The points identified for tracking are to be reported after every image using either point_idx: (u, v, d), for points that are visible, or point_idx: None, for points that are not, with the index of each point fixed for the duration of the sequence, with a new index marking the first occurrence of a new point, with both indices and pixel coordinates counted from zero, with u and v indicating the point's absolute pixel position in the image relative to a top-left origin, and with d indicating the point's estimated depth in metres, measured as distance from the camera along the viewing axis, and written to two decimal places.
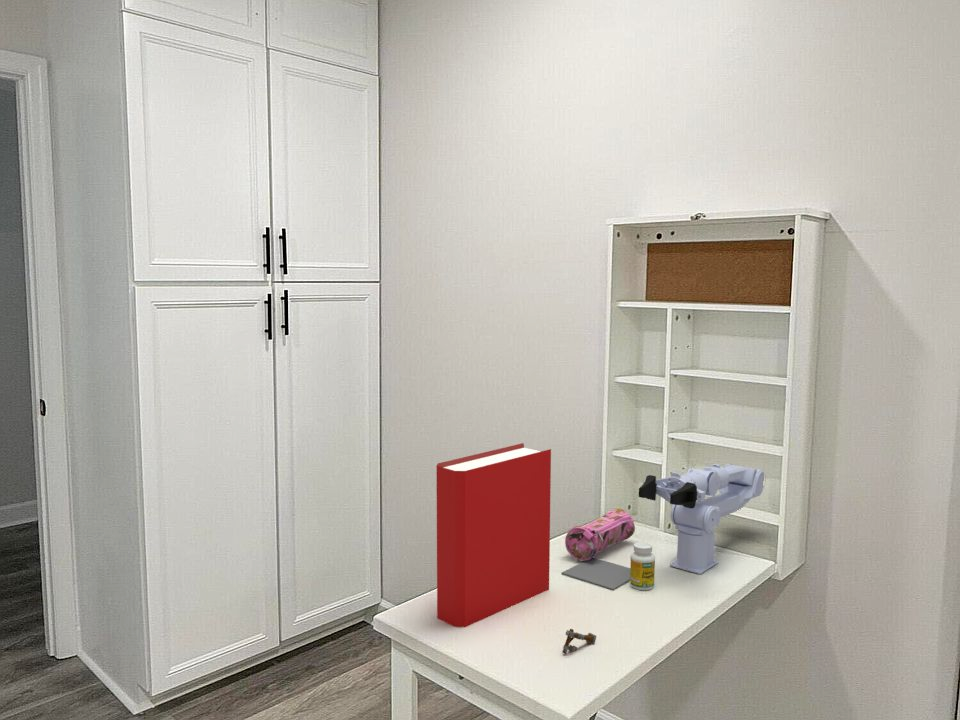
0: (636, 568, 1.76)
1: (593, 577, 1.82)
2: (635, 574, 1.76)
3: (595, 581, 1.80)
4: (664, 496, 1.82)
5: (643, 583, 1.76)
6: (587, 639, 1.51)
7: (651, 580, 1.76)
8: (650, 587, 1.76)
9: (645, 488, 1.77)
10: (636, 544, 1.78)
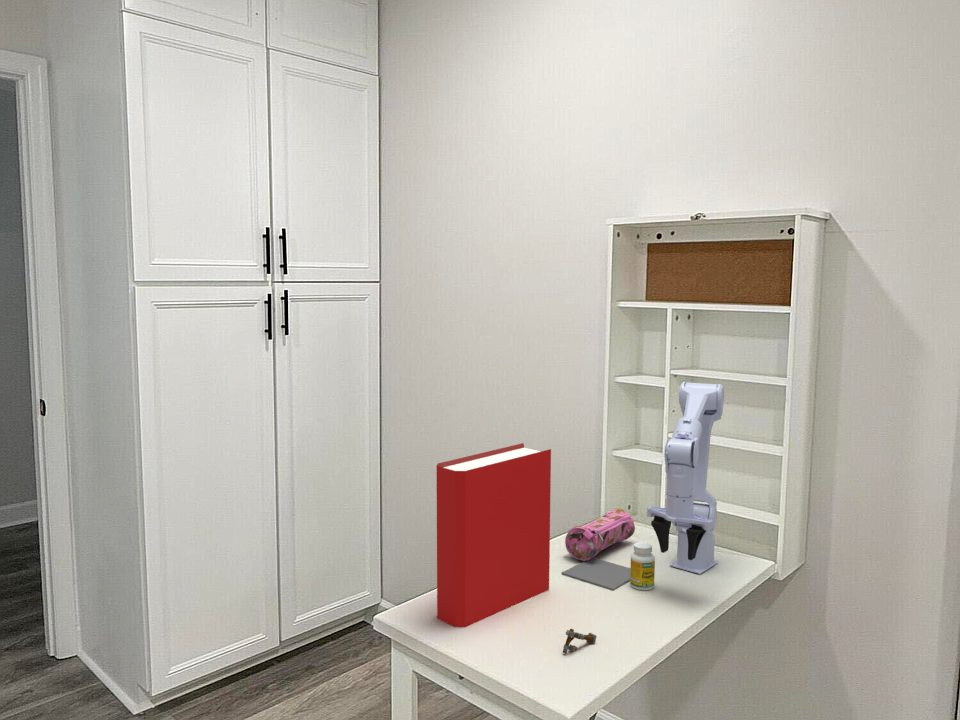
0: (636, 568, 1.76)
1: (593, 577, 1.82)
2: (635, 574, 1.76)
3: (595, 581, 1.80)
4: None
5: (643, 583, 1.76)
6: (587, 639, 1.51)
7: (651, 580, 1.76)
8: (650, 587, 1.76)
9: (664, 544, 1.73)
10: (636, 544, 1.78)
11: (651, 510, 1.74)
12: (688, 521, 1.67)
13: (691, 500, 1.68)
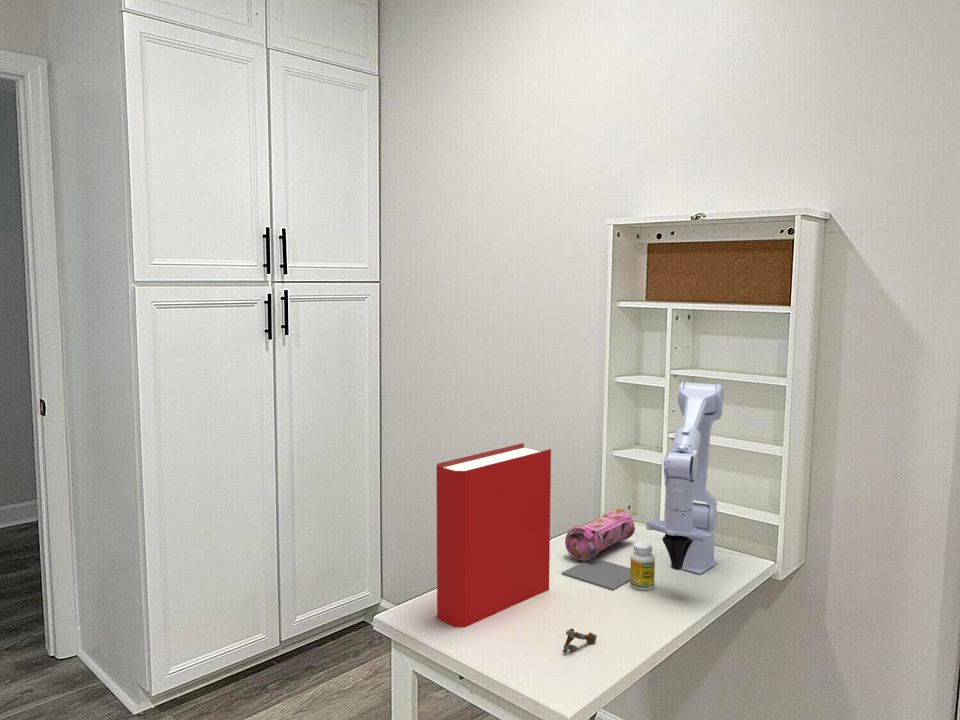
0: (636, 568, 1.76)
1: (593, 577, 1.82)
2: (635, 574, 1.76)
3: (595, 581, 1.80)
4: None
5: (643, 583, 1.76)
6: (587, 639, 1.51)
7: (651, 580, 1.76)
8: (650, 587, 1.76)
9: None
10: (636, 544, 1.78)
11: (650, 523, 1.75)
12: (687, 535, 1.68)
13: (690, 514, 1.69)
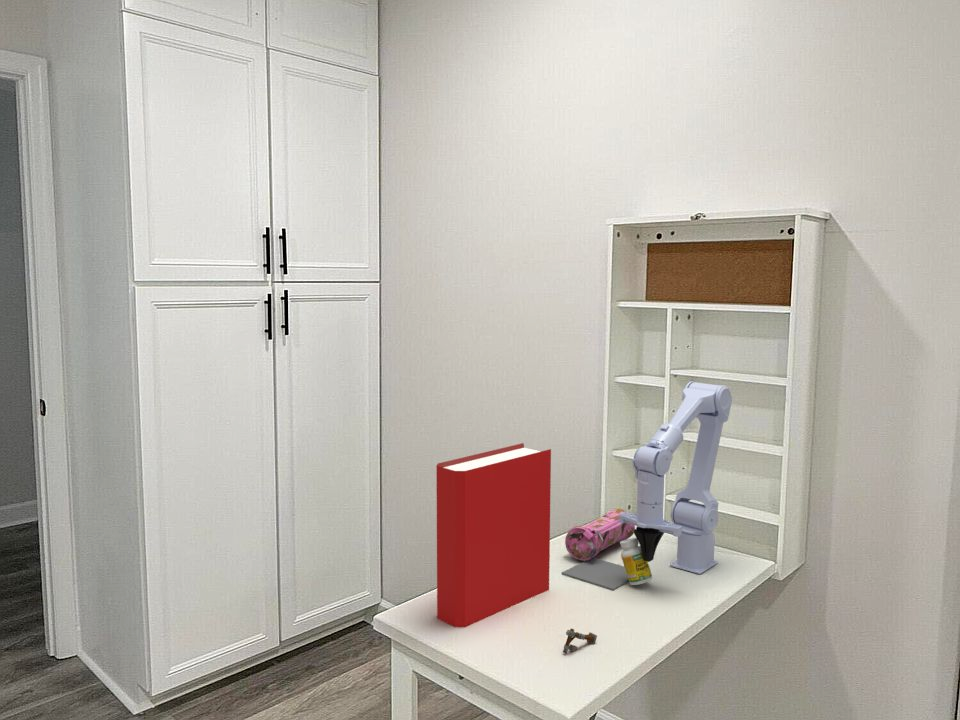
0: (629, 563, 1.77)
1: (593, 577, 1.82)
2: (630, 569, 1.77)
3: (595, 581, 1.80)
4: None
5: (640, 576, 1.76)
6: (588, 639, 1.51)
7: (646, 571, 1.77)
8: (648, 578, 1.77)
9: None
10: (622, 541, 1.80)
11: (623, 516, 1.79)
12: (657, 527, 1.72)
13: (661, 507, 1.73)
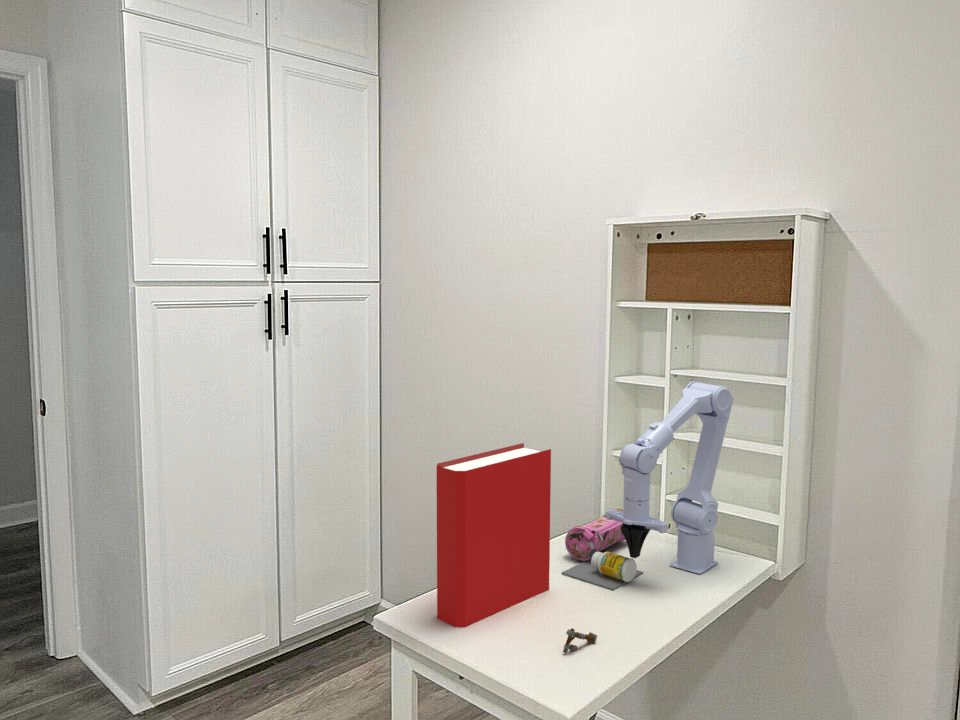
0: (606, 570, 1.81)
1: (593, 577, 1.82)
2: (611, 573, 1.80)
3: (595, 581, 1.80)
4: None
5: (618, 567, 1.79)
6: (588, 639, 1.51)
7: (619, 560, 1.80)
8: (625, 562, 1.79)
9: None
10: None
11: (610, 513, 1.81)
12: (643, 524, 1.75)
13: (647, 504, 1.76)
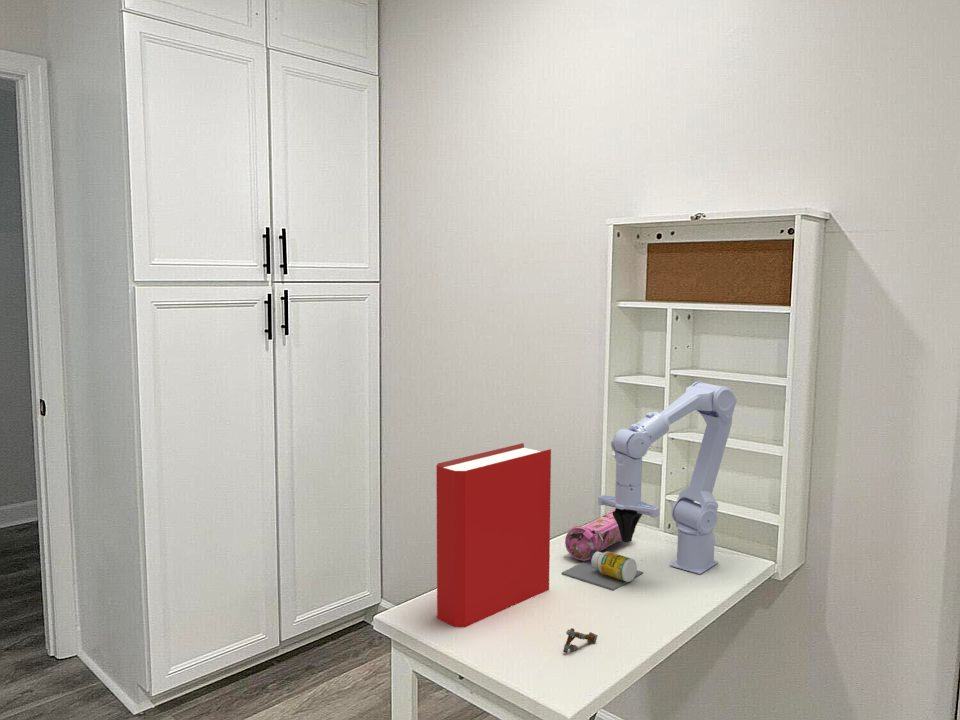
0: (606, 570, 1.81)
1: (593, 577, 1.82)
2: (611, 572, 1.80)
3: (595, 581, 1.80)
4: None
5: (618, 567, 1.79)
6: (588, 638, 1.51)
7: (619, 559, 1.80)
8: (625, 561, 1.79)
9: None
10: None
11: (602, 498, 1.82)
12: (635, 508, 1.76)
13: (638, 489, 1.77)
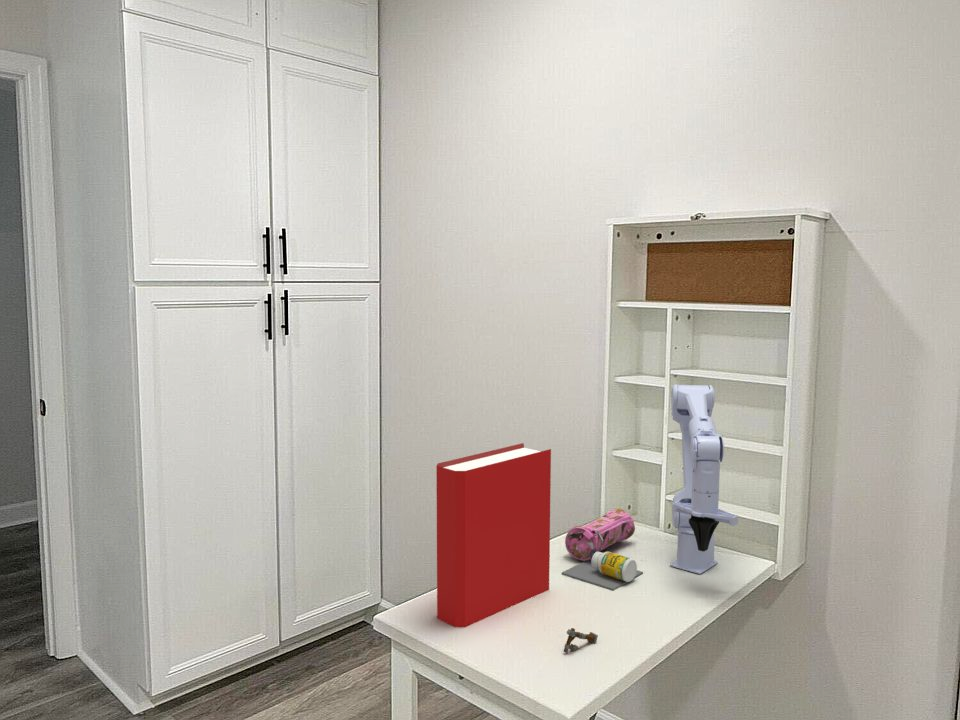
0: (606, 570, 1.81)
1: (593, 577, 1.82)
2: (611, 572, 1.80)
3: (595, 581, 1.80)
4: None
5: (619, 567, 1.79)
6: (588, 638, 1.51)
7: (619, 559, 1.80)
8: (625, 561, 1.79)
9: None
10: None
11: (676, 505, 1.77)
12: (713, 516, 1.70)
13: (716, 496, 1.71)
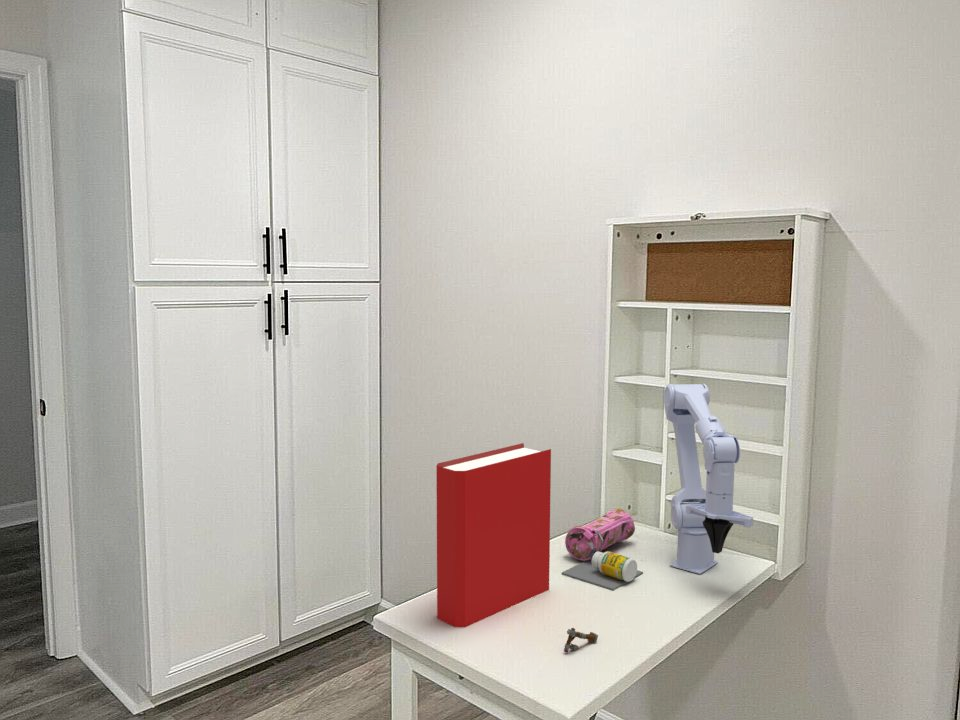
0: (606, 569, 1.81)
1: (593, 577, 1.82)
2: (611, 572, 1.80)
3: (595, 581, 1.80)
4: None
5: (619, 566, 1.79)
6: (589, 638, 1.51)
7: (620, 559, 1.80)
8: (626, 561, 1.79)
9: None
10: None
11: (690, 507, 1.76)
12: (728, 518, 1.69)
13: (731, 497, 1.70)
